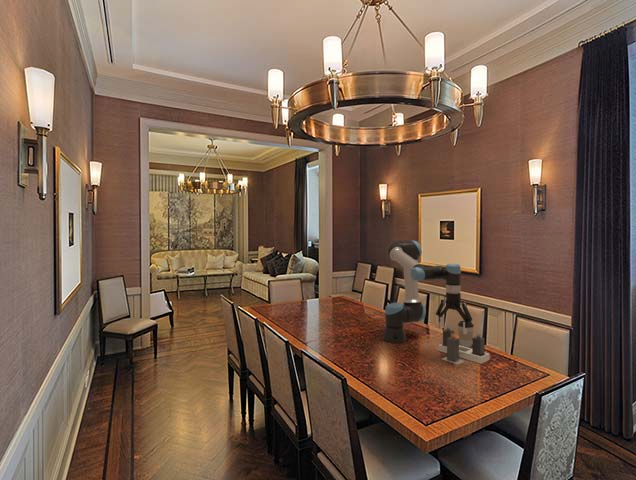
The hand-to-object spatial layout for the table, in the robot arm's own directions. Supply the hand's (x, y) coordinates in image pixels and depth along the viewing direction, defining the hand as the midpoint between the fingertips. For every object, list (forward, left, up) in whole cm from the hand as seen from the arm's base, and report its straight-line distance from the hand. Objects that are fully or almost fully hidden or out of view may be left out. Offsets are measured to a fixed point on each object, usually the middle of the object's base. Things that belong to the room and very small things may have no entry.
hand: (453, 331), depth 192 cm
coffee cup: (-8, +29, -17) cm, 34 cm away
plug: (0, 0, -16) cm, 16 cm away
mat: (0, 0, -17) cm, 17 cm away
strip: (0, +11, -17) cm, 20 cm away
